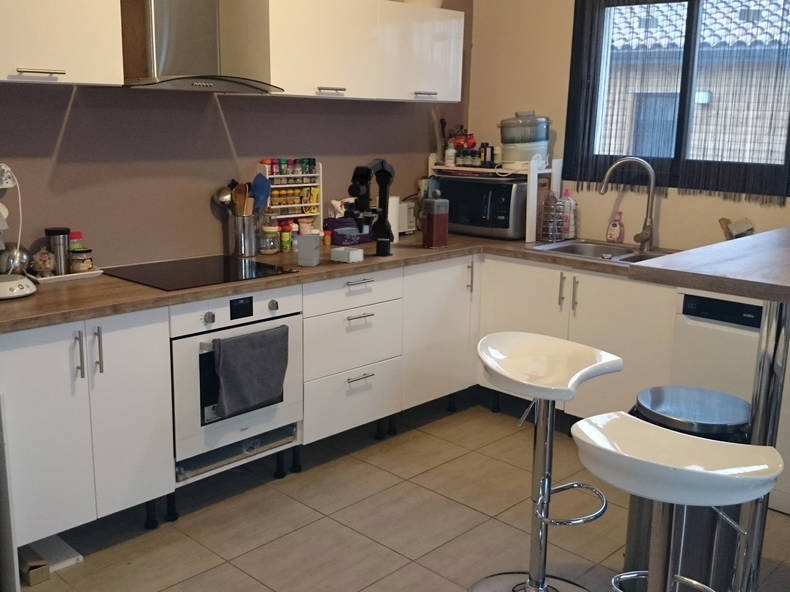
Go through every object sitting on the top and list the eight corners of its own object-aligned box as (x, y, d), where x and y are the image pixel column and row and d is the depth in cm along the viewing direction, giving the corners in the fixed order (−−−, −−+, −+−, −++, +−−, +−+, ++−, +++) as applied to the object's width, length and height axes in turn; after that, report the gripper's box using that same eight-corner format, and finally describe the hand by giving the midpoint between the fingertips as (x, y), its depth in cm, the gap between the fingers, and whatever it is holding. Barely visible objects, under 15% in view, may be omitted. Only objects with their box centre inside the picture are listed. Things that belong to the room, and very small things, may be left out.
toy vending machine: (418, 247, 391) (419, 189, 385) (436, 245, 397) (437, 188, 391) (429, 249, 384) (431, 190, 378) (447, 247, 390) (449, 190, 384)
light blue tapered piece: (334, 233, 343) (334, 223, 343) (348, 231, 350) (348, 222, 349) (359, 236, 334) (359, 226, 333) (373, 234, 341) (373, 225, 340)
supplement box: (314, 266, 331) (314, 236, 329) (297, 265, 333) (297, 235, 330) (319, 263, 338) (319, 234, 336) (303, 263, 340) (302, 233, 337)
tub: (330, 260, 347) (330, 249, 346) (344, 258, 354) (344, 246, 353) (349, 263, 340) (349, 251, 339) (363, 260, 347) (363, 249, 346)
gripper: (364, 193, 347) (364, 229, 351) (334, 195, 333) (334, 233, 337) (383, 195, 340) (383, 231, 344) (353, 197, 326) (353, 235, 330)
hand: (363, 232), depth 339 cm, fingers closed on light blue tapered piece, 3 cm apart
